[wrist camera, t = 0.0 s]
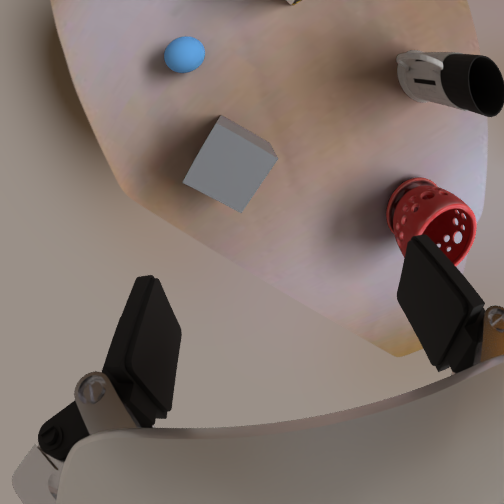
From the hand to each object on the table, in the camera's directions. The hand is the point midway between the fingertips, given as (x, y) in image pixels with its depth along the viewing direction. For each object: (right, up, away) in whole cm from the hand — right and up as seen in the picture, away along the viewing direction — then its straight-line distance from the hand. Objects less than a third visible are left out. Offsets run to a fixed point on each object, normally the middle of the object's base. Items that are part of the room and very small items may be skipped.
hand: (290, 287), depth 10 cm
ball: (-10, +25, +17) cm, 32 cm away
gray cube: (-4, +15, +27) cm, 31 cm away
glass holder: (+21, +28, +20) cm, 41 cm away
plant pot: (+26, +9, +33) cm, 43 cm away
